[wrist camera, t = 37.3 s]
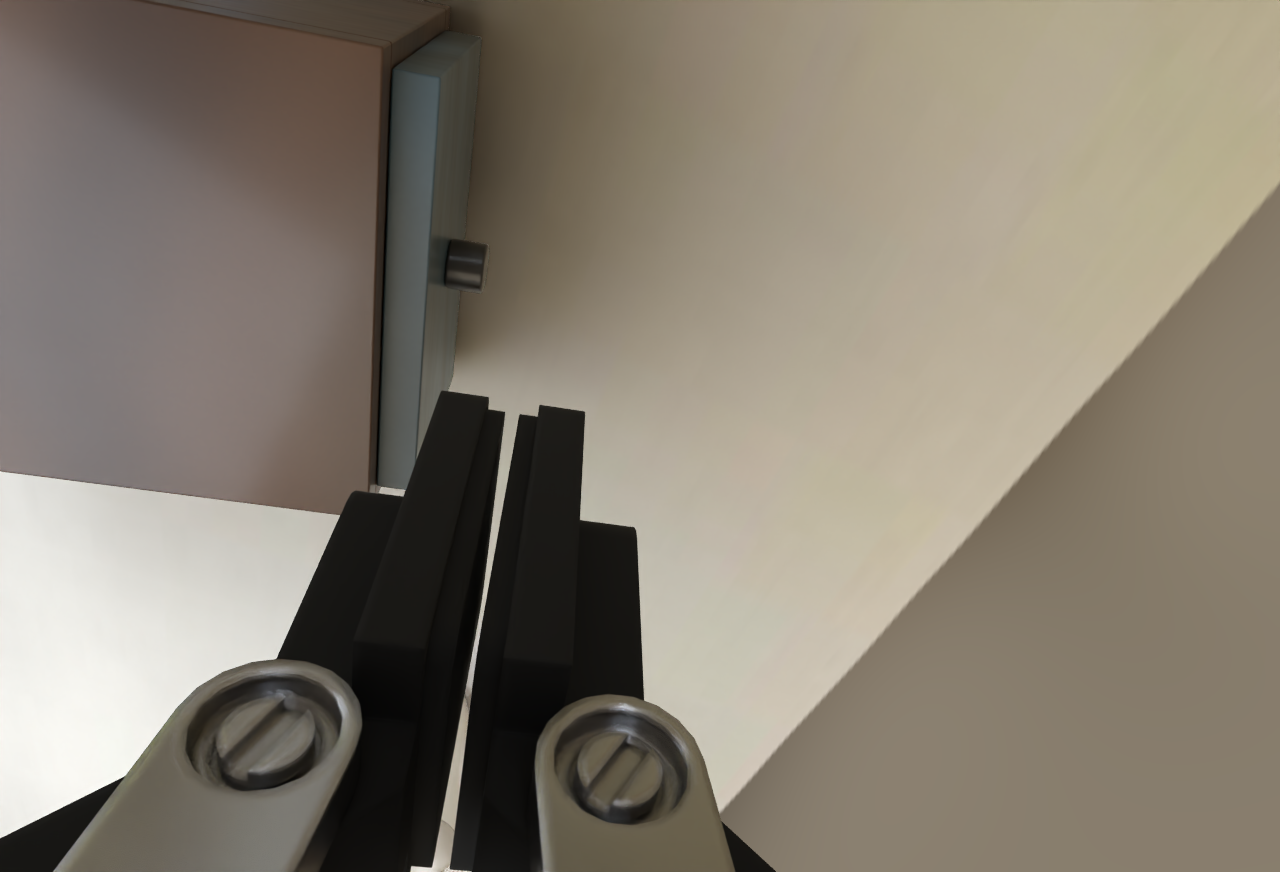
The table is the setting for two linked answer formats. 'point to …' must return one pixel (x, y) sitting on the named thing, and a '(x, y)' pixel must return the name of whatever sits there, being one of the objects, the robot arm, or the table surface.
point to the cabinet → (197, 242)
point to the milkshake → (450, 802)
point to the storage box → (425, 241)
